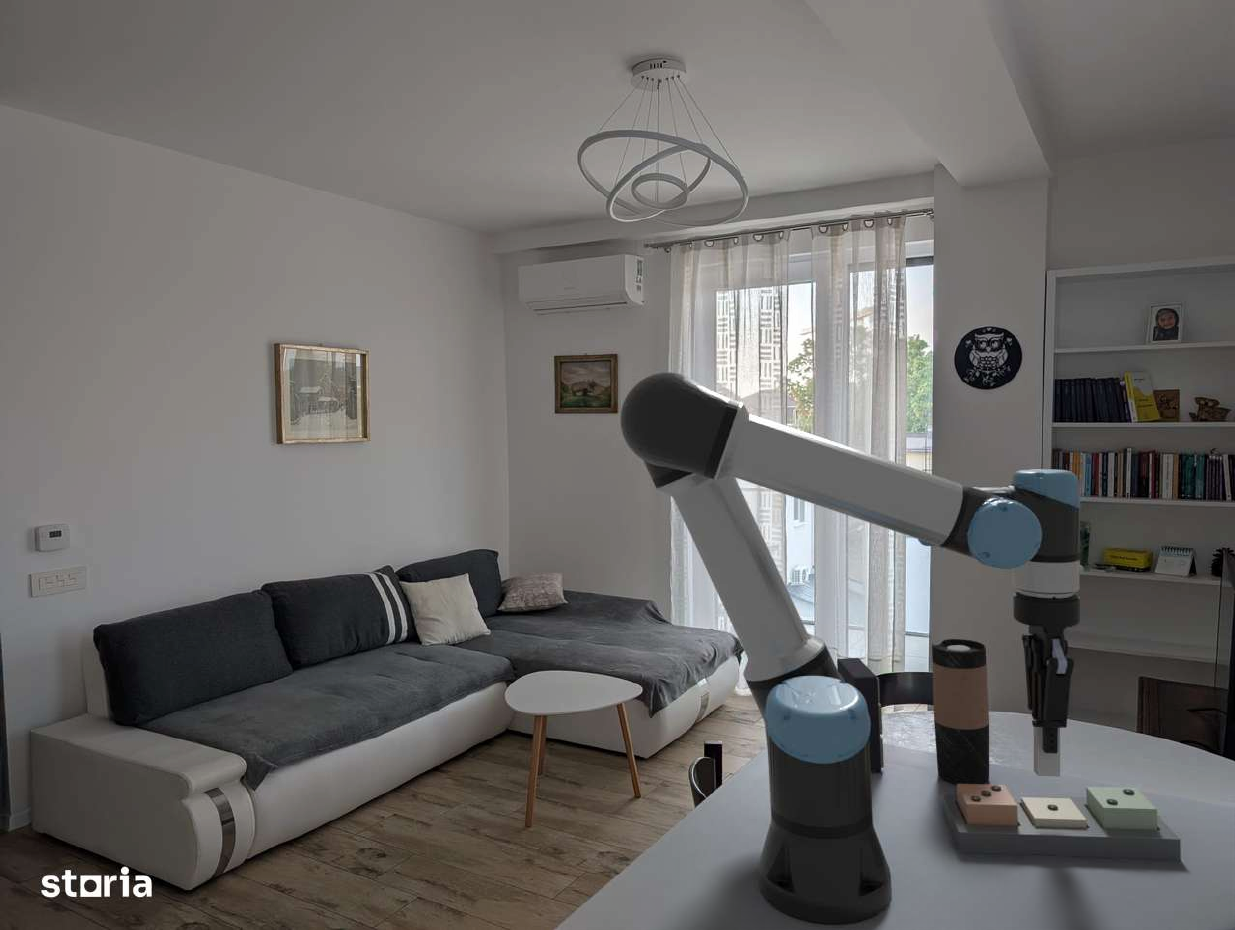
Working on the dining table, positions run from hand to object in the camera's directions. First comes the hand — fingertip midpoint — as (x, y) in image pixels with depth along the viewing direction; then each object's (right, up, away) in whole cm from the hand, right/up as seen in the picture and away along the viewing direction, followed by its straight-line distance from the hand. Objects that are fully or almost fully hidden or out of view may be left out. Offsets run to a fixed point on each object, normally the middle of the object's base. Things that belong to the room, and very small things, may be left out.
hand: (1046, 773), depth 109 cm
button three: (-7, -6, +2) cm, 9 cm away
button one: (+1, -8, 0) cm, 8 cm away
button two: (+9, -6, -1) cm, 10 cm away
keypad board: (+1, -8, 0) cm, 8 cm away
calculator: (-16, -8, +27) cm, 32 cm away
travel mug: (-3, -7, +18) cm, 20 cm away
